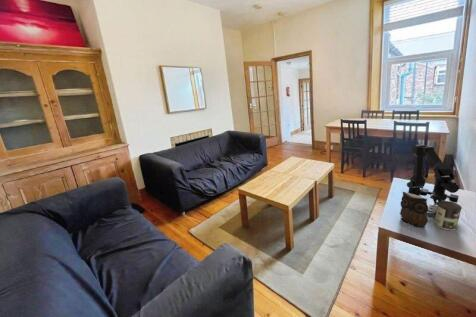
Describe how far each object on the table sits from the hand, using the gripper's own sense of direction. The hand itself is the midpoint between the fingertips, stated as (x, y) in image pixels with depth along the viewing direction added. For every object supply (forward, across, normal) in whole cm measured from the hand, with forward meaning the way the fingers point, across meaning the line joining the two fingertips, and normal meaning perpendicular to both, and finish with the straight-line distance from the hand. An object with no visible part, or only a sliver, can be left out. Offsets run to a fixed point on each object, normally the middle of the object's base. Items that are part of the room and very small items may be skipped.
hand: (436, 206), depth 148 cm
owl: (+4, -8, -20) cm, 22 cm away
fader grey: (+1, 0, -4) cm, 4 cm away
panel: (+4, +2, -2) cm, 5 cm away
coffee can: (+4, +6, -14) cm, 16 cm away
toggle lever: (+1, -1, -7) cm, 8 cm away
